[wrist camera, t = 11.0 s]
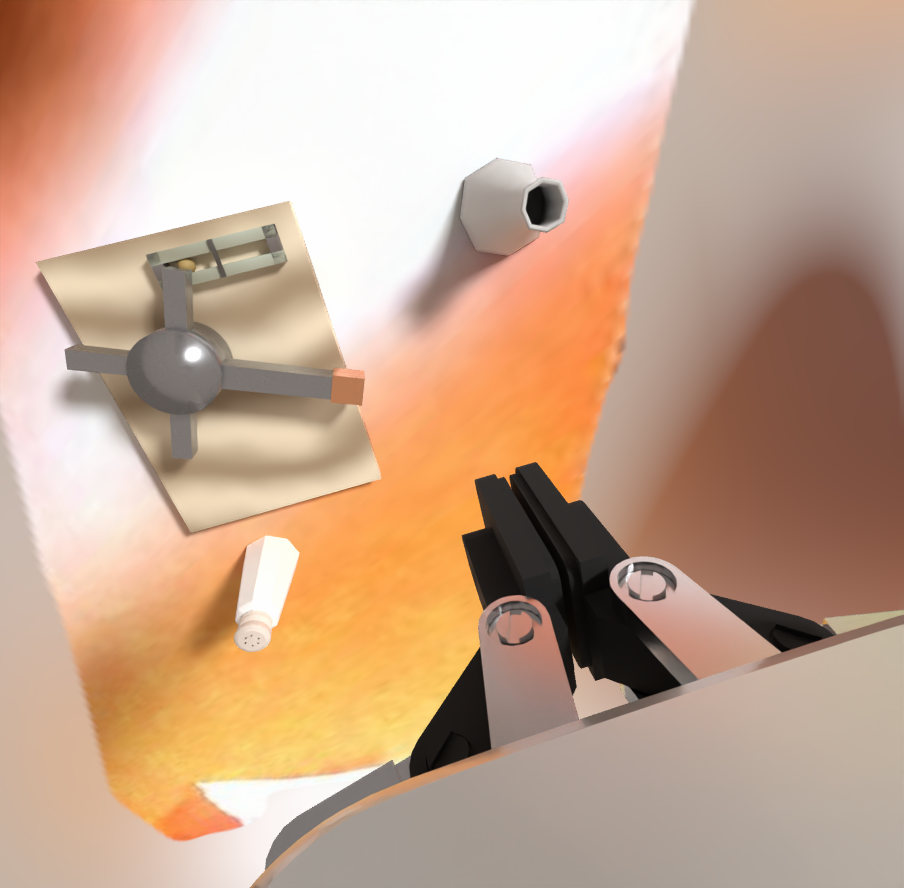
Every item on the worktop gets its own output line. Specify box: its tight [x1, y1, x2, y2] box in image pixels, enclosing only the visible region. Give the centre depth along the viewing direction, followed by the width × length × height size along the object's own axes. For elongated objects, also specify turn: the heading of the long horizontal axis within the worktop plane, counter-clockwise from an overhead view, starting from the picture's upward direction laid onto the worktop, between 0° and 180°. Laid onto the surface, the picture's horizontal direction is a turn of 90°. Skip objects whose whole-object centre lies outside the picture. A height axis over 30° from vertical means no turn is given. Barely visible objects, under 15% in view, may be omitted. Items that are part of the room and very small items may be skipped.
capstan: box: [65, 266, 365, 459], centre depth 37 cm, size 20×14×4 cm
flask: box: [460, 158, 569, 256], centre depth 35 cm, size 7×7×10 cm
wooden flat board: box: [36, 201, 381, 533], centre depth 40 cm, size 24×18×3 cm
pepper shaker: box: [234, 536, 299, 652], centre depth 44 cm, size 5×5×11 cm
